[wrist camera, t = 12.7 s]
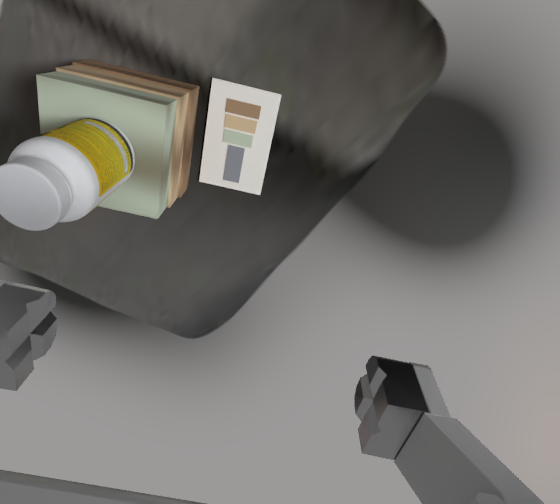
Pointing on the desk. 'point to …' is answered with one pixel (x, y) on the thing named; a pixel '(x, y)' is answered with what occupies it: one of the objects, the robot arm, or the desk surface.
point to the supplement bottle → (64, 173)
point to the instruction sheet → (238, 136)
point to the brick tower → (129, 125)
